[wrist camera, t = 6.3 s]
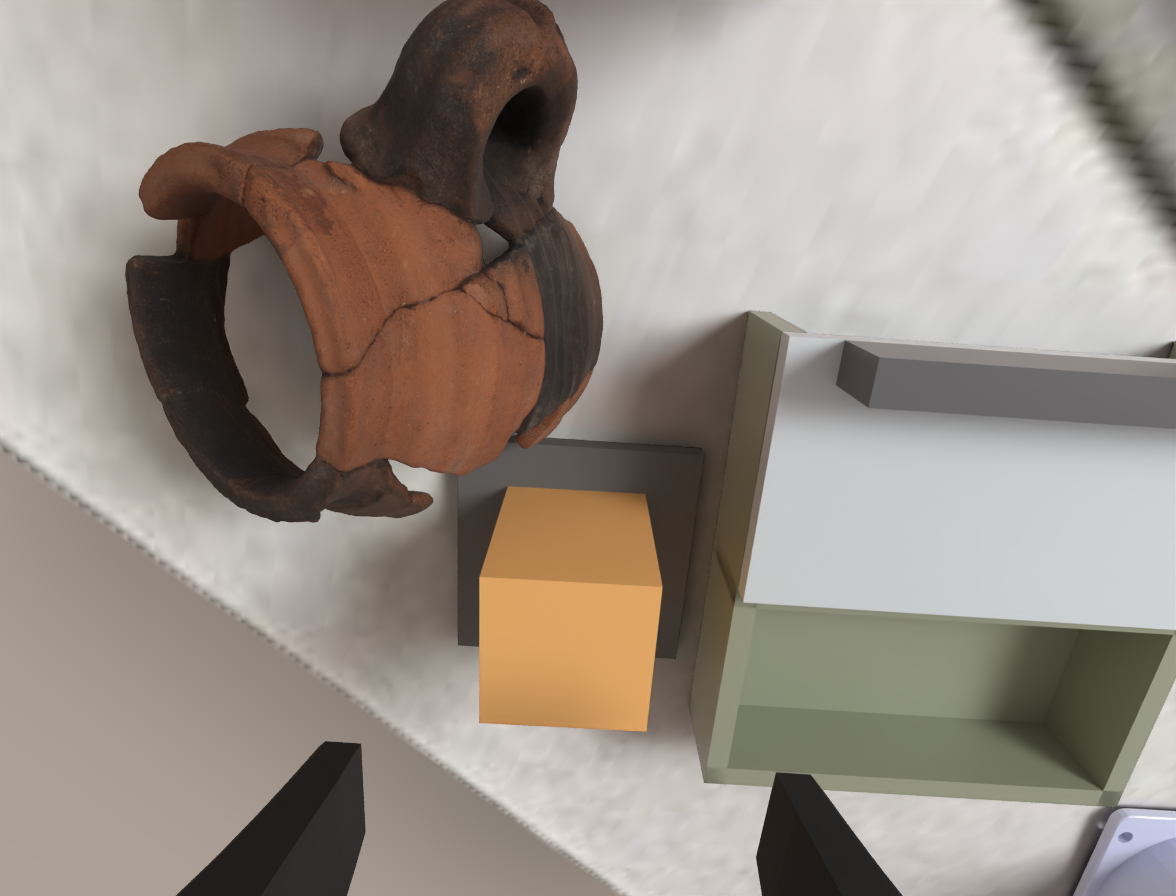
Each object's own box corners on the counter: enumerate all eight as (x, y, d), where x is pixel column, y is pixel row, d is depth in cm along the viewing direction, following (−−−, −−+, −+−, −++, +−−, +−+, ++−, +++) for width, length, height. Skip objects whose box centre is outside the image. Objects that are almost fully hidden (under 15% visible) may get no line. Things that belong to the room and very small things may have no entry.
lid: (1207, 619, 17) (1301, 681, 15) (738, 589, 17) (760, 647, 15) (1323, 369, 15) (1456, 398, 12) (782, 331, 15) (817, 352, 12)
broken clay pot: (546, 507, 20) (324, 649, 14) (352, 331, 23) (81, 379, 16) (771, 130, 14) (556, 50, 7) (466, -63, 16) (92, -255, 10)
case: (1045, 727, 22) (1115, 807, 19) (689, 705, 22) (704, 783, 19) (1196, 342, 18) (1319, 368, 15) (748, 310, 18) (780, 330, 15)
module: (634, 610, 20) (646, 731, 15) (505, 603, 20) (479, 723, 15) (645, 493, 19) (662, 587, 14) (508, 486, 19) (479, 577, 14)
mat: (673, 647, 21) (675, 658, 21) (461, 633, 21) (457, 645, 21) (700, 448, 19) (703, 455, 18) (462, 431, 19) (457, 438, 18)
